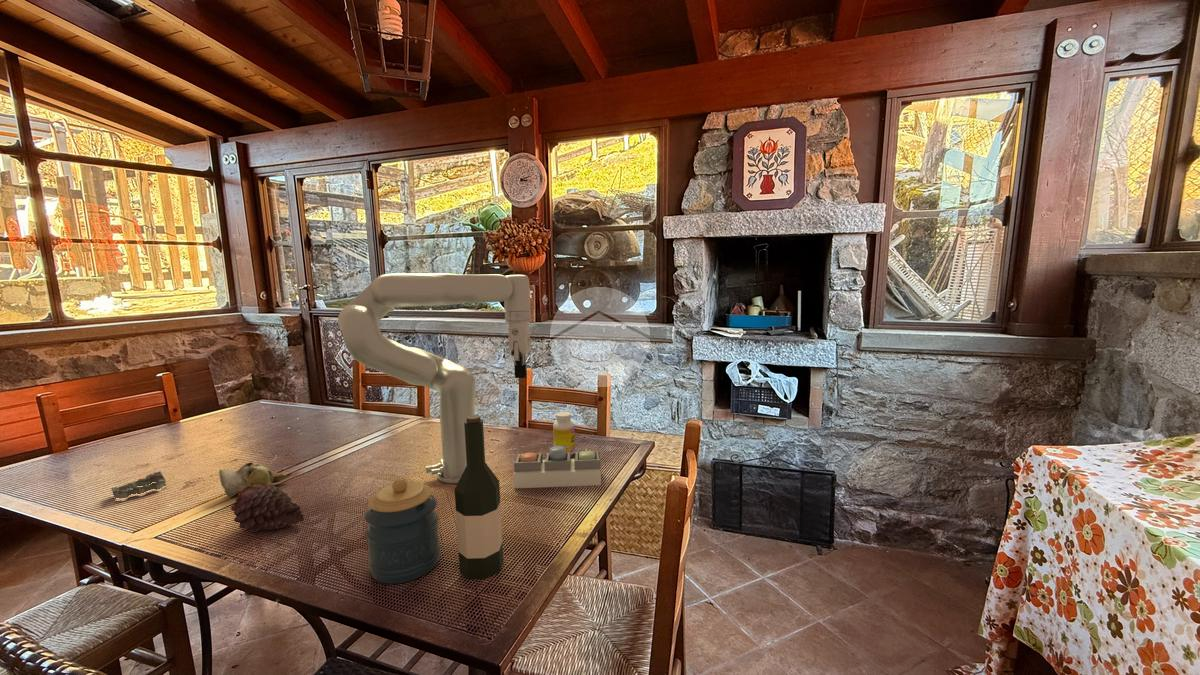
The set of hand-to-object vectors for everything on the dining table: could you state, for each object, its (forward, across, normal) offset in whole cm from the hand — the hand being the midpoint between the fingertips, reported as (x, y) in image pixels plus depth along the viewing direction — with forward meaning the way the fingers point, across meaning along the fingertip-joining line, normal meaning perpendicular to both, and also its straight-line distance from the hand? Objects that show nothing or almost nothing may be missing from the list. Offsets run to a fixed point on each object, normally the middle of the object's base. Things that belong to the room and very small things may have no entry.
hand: (520, 377), depth 141 cm
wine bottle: (+26, -54, -1) cm, 60 cm away
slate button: (+20, -15, -12) cm, 28 cm away
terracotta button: (+21, -16, -4) cm, 27 cm away
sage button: (+21, -15, -20) cm, 33 cm away
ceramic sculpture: (+26, -21, +69) cm, 76 cm away
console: (+26, -15, -12) cm, 32 cm away
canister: (+26, -53, +14) cm, 61 cm away
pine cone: (+26, -38, +52) cm, 70 cm away
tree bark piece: (+26, -20, +100) cm, 106 cm away
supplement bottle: (+26, +4, -12) cm, 29 cm away
